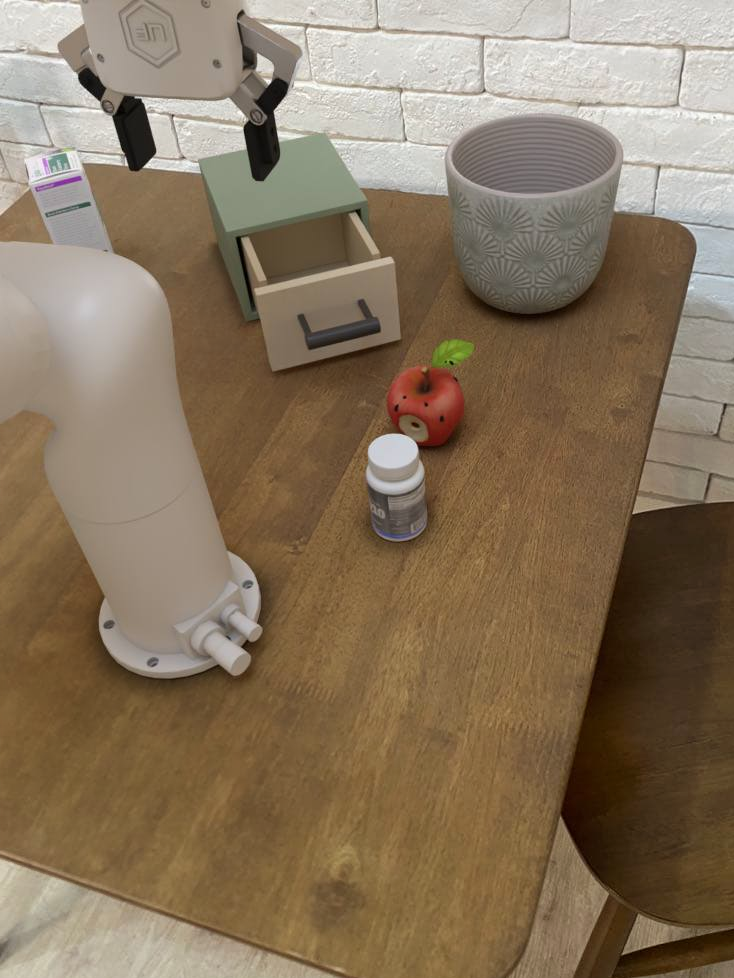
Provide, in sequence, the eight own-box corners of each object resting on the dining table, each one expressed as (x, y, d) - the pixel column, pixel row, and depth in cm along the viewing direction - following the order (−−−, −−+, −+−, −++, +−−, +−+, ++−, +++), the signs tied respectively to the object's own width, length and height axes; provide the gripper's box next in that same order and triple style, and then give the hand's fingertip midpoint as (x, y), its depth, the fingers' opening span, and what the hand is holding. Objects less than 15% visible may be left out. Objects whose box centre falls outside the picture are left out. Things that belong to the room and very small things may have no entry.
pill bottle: (365, 510, 80) (355, 437, 74) (417, 496, 81) (412, 423, 75) (381, 549, 77) (372, 477, 71) (435, 534, 78) (430, 461, 72)
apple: (418, 473, 83) (411, 384, 76) (377, 432, 87) (366, 344, 80) (487, 437, 86) (487, 348, 78) (444, 399, 90) (441, 311, 82)
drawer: (416, 367, 92) (411, 289, 85) (284, 401, 89) (268, 324, 83) (358, 262, 105) (349, 188, 98) (241, 289, 103) (224, 215, 96)
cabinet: (376, 290, 102) (367, 199, 95) (246, 321, 100) (226, 231, 92) (336, 218, 113) (325, 131, 105) (218, 245, 111) (197, 158, 103)
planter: (606, 340, 94) (623, 198, 83) (439, 333, 97) (433, 194, 85) (609, 248, 105) (624, 112, 94) (459, 244, 108) (455, 111, 96)
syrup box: (127, 290, 106) (85, 166, 95) (74, 304, 104) (27, 181, 94) (118, 265, 109) (77, 143, 98) (67, 278, 108) (21, 157, 97)
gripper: (-23, -96, 55) (73, 183, 67) (251, -94, 51) (297, 203, 63) (44, -131, 59) (121, 136, 72) (299, -131, 55) (333, 151, 68)
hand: (203, 167), depth 68 cm, fingers open, 9 cm apart
